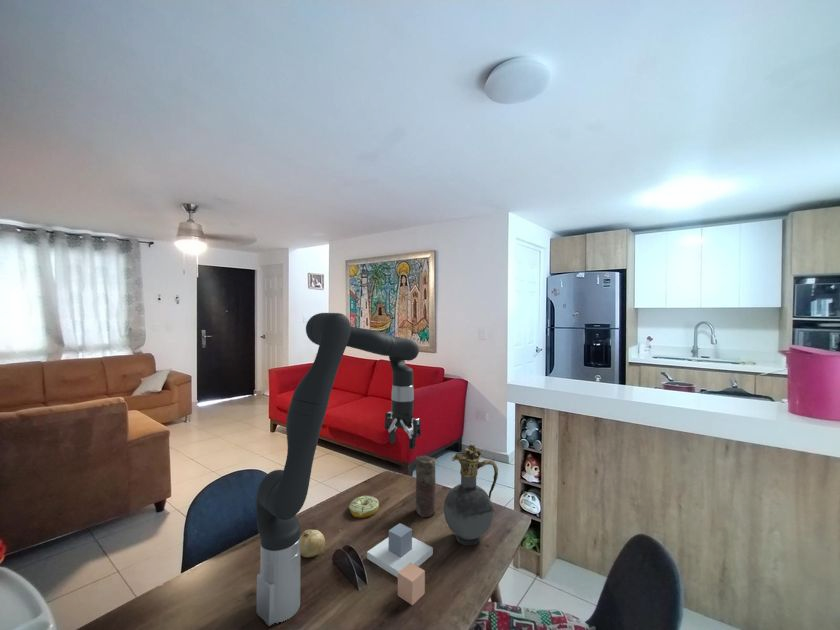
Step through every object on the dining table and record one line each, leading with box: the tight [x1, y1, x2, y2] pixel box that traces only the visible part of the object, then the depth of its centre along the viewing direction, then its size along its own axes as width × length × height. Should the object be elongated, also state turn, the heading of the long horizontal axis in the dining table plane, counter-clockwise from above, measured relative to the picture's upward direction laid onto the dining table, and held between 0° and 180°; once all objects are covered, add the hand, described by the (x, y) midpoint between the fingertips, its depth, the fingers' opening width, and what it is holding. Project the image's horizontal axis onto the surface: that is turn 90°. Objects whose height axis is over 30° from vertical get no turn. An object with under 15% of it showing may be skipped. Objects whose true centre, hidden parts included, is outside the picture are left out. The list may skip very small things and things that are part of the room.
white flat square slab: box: [366, 536, 434, 579], centre depth 109 cm, size 14×14×2 cm
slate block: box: [388, 522, 413, 558], centre depth 109 cm, size 5×5×6 cm
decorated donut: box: [348, 495, 380, 519], centre depth 133 cm, size 10×11×4 cm
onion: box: [300, 528, 326, 558], centre depth 110 cm, size 8×8×7 cm
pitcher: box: [443, 444, 499, 546], centre depth 118 cm, size 11×19×30 cm, turn 113°
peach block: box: [397, 562, 426, 606], centre depth 94 cm, size 5×5×6 cm
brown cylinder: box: [415, 455, 437, 518], centre depth 133 cm, size 8×7×20 cm
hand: (402, 445), depth 122 cm, fingers open, 8 cm apart
